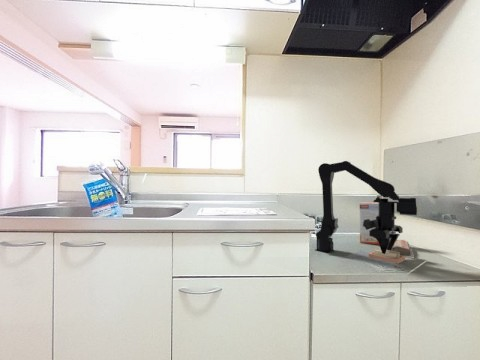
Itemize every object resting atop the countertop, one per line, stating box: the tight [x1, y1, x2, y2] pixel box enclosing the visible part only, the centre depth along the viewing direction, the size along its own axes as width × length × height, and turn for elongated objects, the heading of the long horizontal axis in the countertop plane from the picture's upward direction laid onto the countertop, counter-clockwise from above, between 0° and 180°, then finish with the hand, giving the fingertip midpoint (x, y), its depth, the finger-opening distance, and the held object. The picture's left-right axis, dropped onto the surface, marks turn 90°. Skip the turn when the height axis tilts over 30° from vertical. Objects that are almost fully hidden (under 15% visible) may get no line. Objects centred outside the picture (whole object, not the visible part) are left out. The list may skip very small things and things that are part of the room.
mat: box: [344, 250, 398, 269], centre depth 108 cm, size 18×15×1 cm
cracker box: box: [359, 201, 380, 246], centre depth 135 cm, size 14×6×21 cm, turn 58°
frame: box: [369, 251, 406, 265], centre depth 107 cm, size 11×8×2 cm
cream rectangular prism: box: [373, 247, 400, 259], centre depth 107 cm, size 4×8×3 cm, turn 41°
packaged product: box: [391, 239, 415, 259], centre depth 118 cm, size 18×5×10 cm
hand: (386, 252), depth 107 cm, fingers open, 5 cm apart
